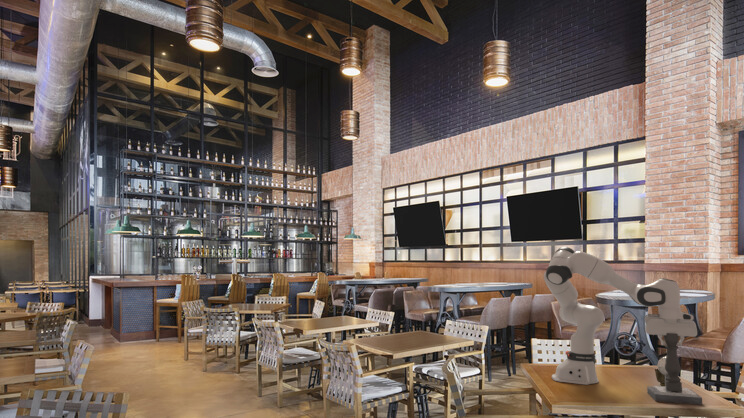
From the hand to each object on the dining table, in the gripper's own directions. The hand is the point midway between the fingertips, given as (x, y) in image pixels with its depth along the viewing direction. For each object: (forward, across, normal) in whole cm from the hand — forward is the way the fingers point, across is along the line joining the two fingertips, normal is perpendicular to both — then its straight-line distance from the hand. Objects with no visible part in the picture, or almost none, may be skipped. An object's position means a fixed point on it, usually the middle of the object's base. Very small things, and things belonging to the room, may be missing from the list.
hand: (671, 345), depth 219 cm
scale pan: (+21, 0, 0) cm, 21 cm away
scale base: (+24, 0, +1) cm, 24 cm away
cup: (+24, +2, +24) cm, 34 cm away
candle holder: (+20, 0, 0) cm, 20 cm away
